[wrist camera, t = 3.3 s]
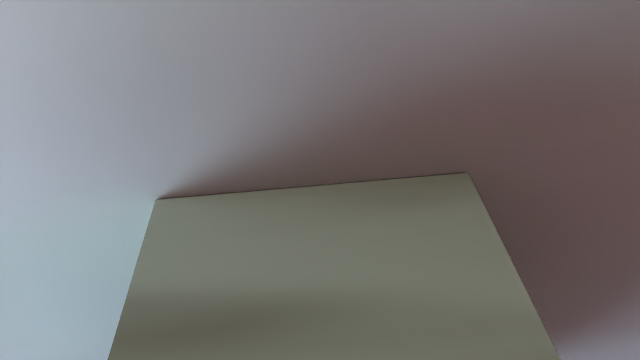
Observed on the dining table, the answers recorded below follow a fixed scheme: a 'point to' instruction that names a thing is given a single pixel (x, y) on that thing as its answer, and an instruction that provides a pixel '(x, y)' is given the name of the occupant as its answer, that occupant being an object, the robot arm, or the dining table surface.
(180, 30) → the dining table surface
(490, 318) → the sage block
